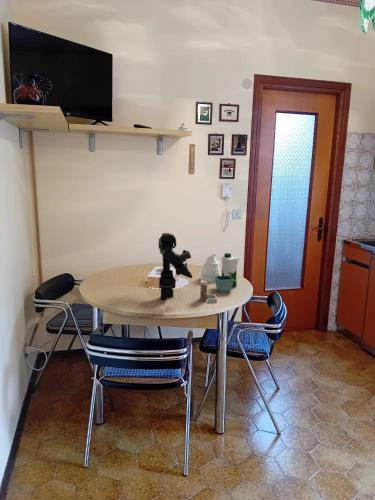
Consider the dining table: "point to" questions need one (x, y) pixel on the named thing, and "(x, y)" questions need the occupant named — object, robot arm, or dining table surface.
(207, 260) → the white rounded cone
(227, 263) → the milk carton
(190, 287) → the dining table surface
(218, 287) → the flower pot
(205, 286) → the block
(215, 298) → the slate board
